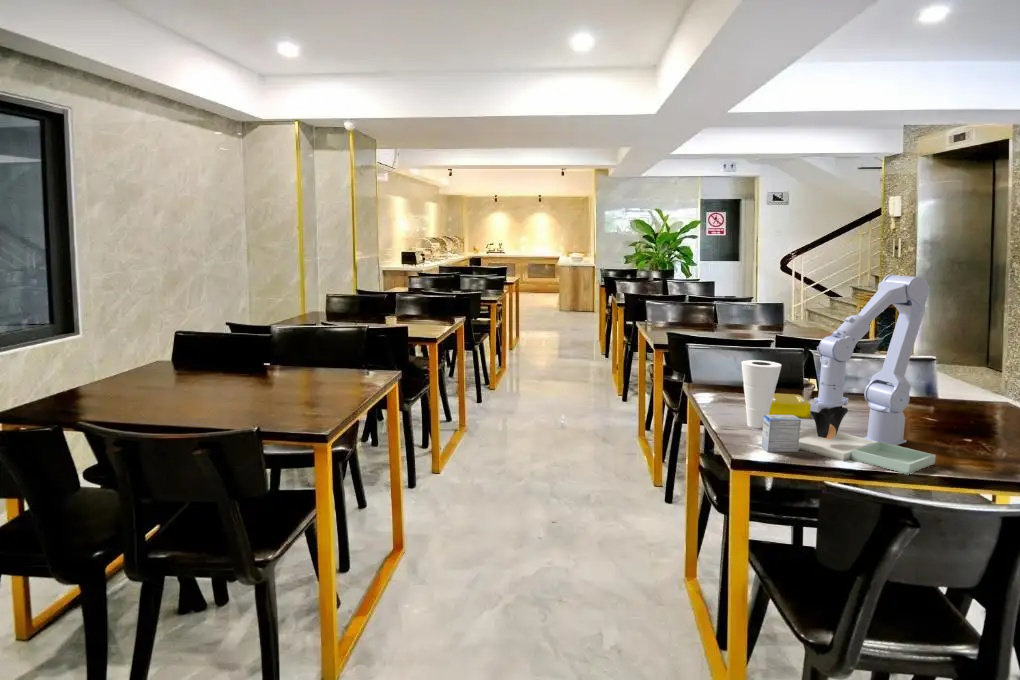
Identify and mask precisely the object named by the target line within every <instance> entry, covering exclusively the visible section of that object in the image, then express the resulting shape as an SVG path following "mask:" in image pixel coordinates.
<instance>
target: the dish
mask: <svg viewBox="0 0 1020 680" xmlns="http://www.w3.org/2000/svg"><path fill="white" fill-rule="evenodd" d="M936 457H937V455H936V454H932V453H928V452H925V451H921V450H916V449H912V448H909V447H905V446H904V447H903V446H900V445H893V444H889V443H884V442H876V443H873V444H870V445H867V446H863V447H860V448H857V449H854V450H852V458H851V461H854V460H856V461H855V462H858V461H860V462H859V463H861V462H864V463H863V464H865V463H868V464H867V465H869V464H872V465H871V466H873V465H876V466H880V467H883V468H882V469H884V468H887V469H890V470H889V471H891V470H894V471H893V472H895V471H898V472H900V473H899V474H902V473H904V474H903V475H906V476H909V474H910V473H912V472H914V471H917V470H920V469H922V468H925V467H927V466H930V465H933V464H935V465H936ZM876 466H875V467H876ZM880 467H879V468H880ZM887 469H886V470H887ZM920 471H921V470H920ZM898 472H897V473H898ZM910 475H911V474H910Z"/></svg>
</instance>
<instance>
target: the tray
mask: <svg viewBox="0 0 1020 680" xmlns="http://www.w3.org/2000/svg"><path fill="white" fill-rule="evenodd" d="M876 442H877V441H873V440H869V439H865V438H864V437H860V436H856V435H852V434H848V433H843V432H839V431H837V434H836V435H835V436H834V437H833V438H831V439H825V438H823V437H819V436H818V434H817V429H816V425H815V426H811V427H809V428H804V429H800V436H799V448H798V450H801V449H802V450H801V451H804V450H805V451H806V452H808V451H809V452H808V453H813V454H815V453H816V455H819V456H824V457H827V458H830V457H831V458H830V459H834V458H835V460H837V459H839V460H838V461H841V460H843V461H842V462H845V461H847V459H848V460H852V450H854V449H857V448H860V447H863V446H867V445H870V444H873V443H876ZM844 460H845V461H844Z"/></svg>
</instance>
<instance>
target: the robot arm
mask: <svg viewBox="0 0 1020 680" xmlns="http://www.w3.org/2000/svg"><path fill="white" fill-rule="evenodd" d="M930 290H931V288H930V287H929V284H928V282H927V281H926V279H925V278H924V277H922V276H911V275H910V276H907V275H897V274H893V273H892V274H888V275H886V276H885V277H884V278H883V279H882V280H881V281H880V282H879V283H878V285H877V291H876V292H875V294H874V295H872V296H871V298H870V299H869V300H868V301H867V303H866V304H865V305H864V307H863V308H862V309H861V310H860V311H859V313H858V314H853V315H850V316H847V317H846V318H844V321H843V322H842V324H841V325H840V326H839V327H838V328H836V330H834V331H833V332H832V334H831V335H828V336H825V337H823V338H822V339H821V340H820V342H819V344H818V346H816V352H817V354H818V355H819V363H820V374H819V385H818V387H819V388H818V395H817V397H814V398H813V402H812V403H810V404H811V410H810V415H812V417H813V419H814V423H815V426H816V429H817V434H818V436H819V437H823V438H827V435H828V431H829V426H830V424H831V425H833V426H834V427H835V429H836V434H837V432H839V429H840V427H841V424H842V422H843V421H842V420H843V419H844V417H845V415H846V414H848V411H849V410H848V409H849V408H848V407H845V406H848V405H849V397H845V396H844V390H845V377H846V369H847V368H846V367H847V365H846V364H847V361H848V360H849V359H850V358H851V357H852V356H853V354H854V349H855V348H856V346H857V345H856V344H857V343H858V342H859V341H860V340H861V339H862V338H864V336H865V335H866V334H867V333H868V332H869V331H870V323H871V322H873V320H876V318H877V317H878V316H879V315H881V313H883V312H884V311H885V310H886V309H887V308H888V307H889V306H891V305H893V306H894V308H896V310H897V311H898V313H899V314H898V317H897V321H896V323H895V326H894V330H893V333H892V337H891V339H890V343H889V345H888V349H887V352H886V356H885V359H884V361H883V365H882V369H881V370H880V371H878V372H876V373H875V374H873V375H872V376H871V379H870V382H869V383H868V384H867V385H866V387H865V388H864V393H863V394H864V396H863V397H864V399H865V402H867V407H869V413H868V414H869V415H868V416H869V417H868V424H867V435H866V436H864V437H863V438H865V439H869V440H873V441H877V442H884V443H889V444H893V445H897V446H900V445H901V444H902V445H903V444H904V443H907V440H906V439H904V433H905V424H906V417H905V413H904V410H905V409H906V408H907V407H908V405H909V402H910V391H911V387H912V386H911V384H910V382H909V381H908V380H907V379H906V377H905V375H906V371H907V368H908V365H909V363H910V359H911V357H912V352H913V349H914V346H915V343H916V341H917V338H918V337H917V336H918V334H919V330H920V326H921V324H922V321H923V317H924V315H925V311H926V305H927V301H928V297H929V294H930V292H931V291H930Z"/></svg>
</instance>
